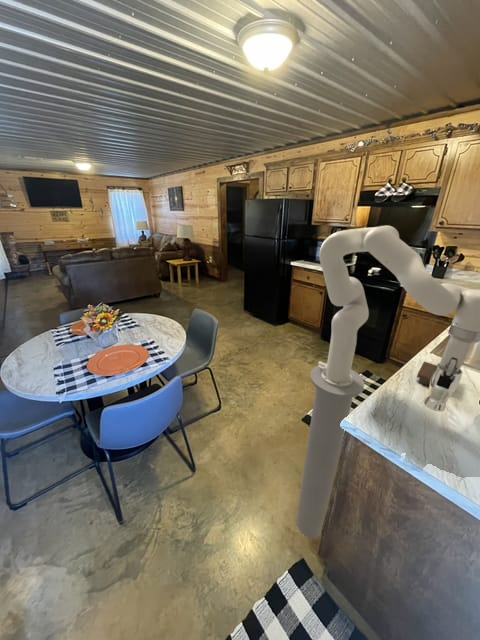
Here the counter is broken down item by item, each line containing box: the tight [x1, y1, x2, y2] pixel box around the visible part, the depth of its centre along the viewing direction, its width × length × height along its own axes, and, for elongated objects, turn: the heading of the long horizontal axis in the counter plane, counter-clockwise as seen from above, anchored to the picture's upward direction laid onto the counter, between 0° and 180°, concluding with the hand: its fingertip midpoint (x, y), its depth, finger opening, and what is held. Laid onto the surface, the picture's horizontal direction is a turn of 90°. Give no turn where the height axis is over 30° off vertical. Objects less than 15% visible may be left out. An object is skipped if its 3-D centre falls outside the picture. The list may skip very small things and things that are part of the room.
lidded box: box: [416, 361, 437, 387], centre depth 110 cm, size 12×13×4 cm
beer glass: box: [422, 362, 464, 413], centre depth 85 cm, size 7×7×15 cm
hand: (444, 380), depth 84 cm, fingers closed on beer glass, 7 cm apart
